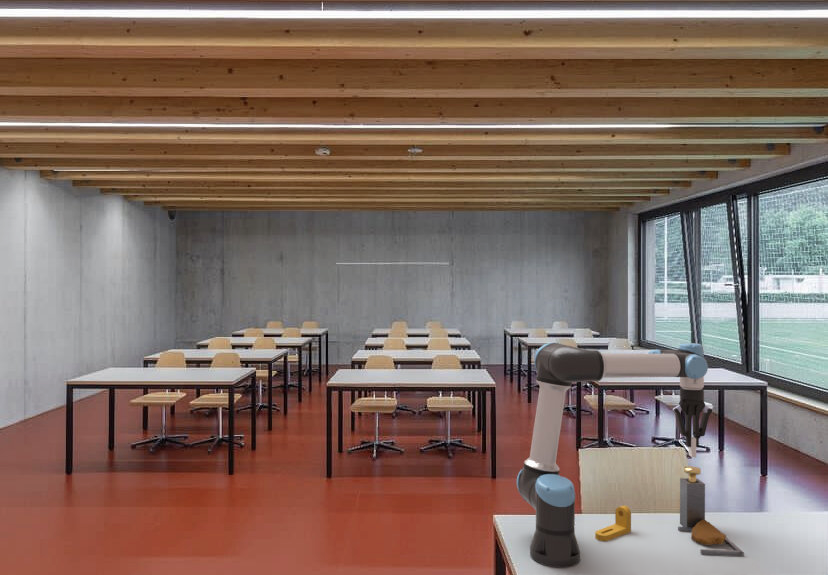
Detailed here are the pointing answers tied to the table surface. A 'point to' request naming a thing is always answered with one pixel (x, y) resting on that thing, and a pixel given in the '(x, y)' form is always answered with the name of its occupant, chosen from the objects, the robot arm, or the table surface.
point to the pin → (692, 473)
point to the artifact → (707, 534)
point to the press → (698, 514)
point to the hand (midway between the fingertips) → (692, 456)
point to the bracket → (616, 525)
